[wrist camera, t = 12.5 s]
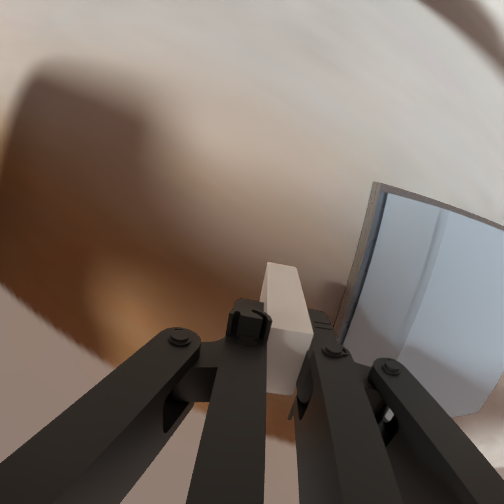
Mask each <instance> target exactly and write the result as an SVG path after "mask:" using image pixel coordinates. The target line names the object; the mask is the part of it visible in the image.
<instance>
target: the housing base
mask: <svg viewBox="0 0 504 504" xmlns="http://www.w3.org/2000/svg"><path fill="white" fill-rule="evenodd" d="M388 193H390V194H394V195H398V196H401V197H405V198H409V199H412V200H416V201H419V202H423V203H426V204H430V205H433V206H436V207H440V208H443V209H446V210H449V211H452V212H455V213H458V214H461V215H463V216H466V217H469V218H471V219H474V220H477V221H479V222H482V223H485V224H487V225H490V226H492V227H495V228H497V229H500V230H502V231H504V226H502V225H500V224H497V223H495V222H492V221H490V220H487V219H485V218H482V217H480V216H477V215H475V214H472V213H470V212H467V211H464V210H462V209H459V208H456V207H454V206H451V205H448V204H445V203H442V202H440V201H437V200H434V199H431V198H428V197H425V196H422V195H419V194H416V193H412V192H409V191H406V190H403V189H400V188H396V187H393V186H389V185H386V184H383V183H378V182H373V184H372V189H371V194H370V198H369V203H368V207H367V212H366V216H365V220H364V224H363V228H362V232H361V236H360V240H359V244H358V248H357V251H356V255H355V259H354V262H353V266H352V269H351V273H350V276H349V280H348V283H347V286H346V290H345V293H344V296H343V299H342V302H341V306H340V309H339V312H338V315H337V318H336V321H335V324H334V327H333V332H334V334H335V337H336V340H337V343H338V344H340V345H342V346H343V343H344V341H345V338H346V335H347V333H348V330H349V327H350V324H351V322H352V319H353V316H354V313H355V310H356V307H357V304H358V301H359V298H360V295H361V292H362V289H363V286H364V283H365V279H366V276H367V273H368V269H369V266H370V263H371V259H372V256H373V252H374V248H375V245H376V241H377V237H378V234H379V230H380V226H381V222H382V218H383V213H384V209H385V205H386V200H387V196H388Z"/></svg>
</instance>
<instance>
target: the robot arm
mask: <svg viewBox="0 0 504 504" xmlns="http://www.w3.org/2000/svg"><path fill="white" fill-rule="evenodd" d="M295 387H297V395H296V398H295V401H294V403H293V406H292V408H291V411H290V413H289V416H288V420H291V418H292V416H293V414H294V421H295V435H296V449H297V464H298V465H297V466H298V483H299V503H300V504H504V480H503V479H502V478H501V476H500V475H499V474H498V473H497V472H496V470H495V469H494V468H493V466H492V465H491V464H490V463H489V462H488V460H487V459H486V458H485V457H484V456H483V454H482V453H481V452H480V451H479V450H478V449H477V447H476V446H475V445H474V444H473V443H472V441H471V440H470V439H469V438H468V437H467V436H466V434H465V433H464V432H463V431H462V430H461V429H460V427H459V426H458V425H457V424H456V423H455V422H454V421H453V419H452V418H451V417H450V416H449V415H448V414H447V413H446V411H445V410H444V409H443V408H442V407H441V406H440V405H439V404H438V402H437V401H436V400H435V399H434V398H433V397H432V396H431V395H430V394H429V392H428V391H427V390H426V389H425V388H424V387H423V386H422V385H421V384H420V382H419V381H418V380H417V379H416V378H415V377H414V376H413V375H412V374H411V373H410V371H409V370H408V369H407V368H406V367H405V366H404V365H402V364H401V363H400V362H398V361H396V360H395V359H391V358H378V359H376V360H375V361H374V362H373V365H372V367H369V366H366V365H362V364H359V363H356V362H354V360H353V358H352V355H351V353H350V352H349V350H348V349H346V348H345V347H344V346H342V345H340V344H338V343H337V340H336V337H335V334H334V332H333V330H332V326H331V323H330V321H329V318H328V317H327V316H326V315H325V314H324V313H323V312H322V311H317V310H311V309H307V306H306V302H305V298H304V294H303V291H302V287H301V283H300V279H299V276H298V272H297V268H296V267H293V266H287V265H282V264H277V263H271V262H267V267H266V272H265V276H264V281H263V286H262V291H261V295H260V300H259V301H254V300H248V299H243V298H240V299H239V300H237V301H236V302H235V303H234V307H233V309H232V310H231V312H230V313H229V318H228V324H227V330H226V336H225V337H224V338H223V339H221V340H219V341H214V342H201V339H200V337H199V336H198V335H197V334H196V333H195V332H193V331H191V330H188V329H184V328H178V327H173V328H168V329H165V330H163V331H161V332H160V333H159V334H157V335H156V336H155V337H154V338H152V339H151V340H150V341H149V342H148V343H146V344H145V345H144V346H143V347H142V348H140V349H139V350H138V351H137V352H135V353H134V354H133V355H132V356H131V357H129V358H128V359H127V360H126V361H125V362H123V363H122V364H121V365H120V366H118V367H117V368H116V369H115V370H114V371H112V372H111V373H110V374H109V375H108V376H106V377H105V378H104V379H103V380H102V381H100V382H99V383H98V384H97V385H95V386H94V387H93V388H92V389H91V390H89V391H88V392H87V393H86V394H84V395H83V396H82V397H81V398H80V399H78V400H77V401H76V402H75V403H74V404H72V405H71V406H70V407H69V408H67V409H66V410H65V411H64V412H62V414H60V415H59V416H58V417H56V418H55V419H54V420H53V421H51V422H50V423H49V424H48V425H47V426H45V427H44V428H43V429H42V430H40V431H39V432H38V433H37V434H36V435H34V436H33V437H32V438H31V439H30V440H28V441H27V442H26V443H25V444H23V445H22V446H21V447H20V448H18V449H17V450H16V451H15V452H14V453H13V454H11V455H10V456H9V457H7V458H6V459H5V460H4V461H2V462H1V463H0V504H120V502H121V501H122V500H123V499H124V497H125V496H126V495H127V494H128V492H129V491H130V490H131V489H132V487H133V486H134V485H135V483H136V482H137V481H138V480H139V478H140V477H141V476H142V474H143V473H144V472H145V471H146V469H147V468H148V467H149V465H150V464H151V463H152V461H153V460H154V459H155V457H156V456H157V455H158V454H159V452H160V451H161V450H162V448H163V447H164V446H165V444H166V443H167V441H168V440H169V439H170V437H171V436H172V435H173V433H174V432H175V431H176V429H177V428H178V426H179V425H180V424H181V422H182V421H183V420H184V418H185V417H186V415H187V414H188V413H189V411H190V410H191V409H192V407H193V405H194V402H209V407H208V411H207V415H206V419H205V423H204V428H203V432H202V436H201V440H200V445H199V449H198V453H197V457H196V462H195V466H194V470H193V474H192V479H191V483H190V487H189V491H188V496H187V500H186V504H263V503H264V474H265V473H264V472H265V436H266V393H273V394H281V395H289V396H292V395H293V393H294V390H295ZM389 409H391V411H392V412H393V414H394V415H393V417H392V418H391V420H390V421H388V420H387V419H386V417H385V415H386V414H387V412H388V410H389Z"/></svg>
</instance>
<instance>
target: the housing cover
mask: <svg viewBox="0 0 504 504" xmlns="http://www.w3.org/2000/svg"><path fill="white" fill-rule="evenodd" d="M343 346H344V347H345V348H346V349H348V350H349V352H350V353H351V355H352V358H353V360H354V362H356V363H359V364H362V365H366V366H369V367H372V365H373V362H374V361H375V360H376V359H378V358H391V359H395V360H396V361H398V362H400V363H401V364H402V365H404V366H405V367H406V368H407V369H408V370H409V371H410V373H411V374H412V375H413V376H414V377H415V378H416V379H417V380H418V381H419V382H420V384H421V385H422V386H423V387H424V388H425V389H426V390H427V391H428V392H429V394H430V395H431V396H432V397H433V398H434V399H435V400H436V401H437V402H438V404H439V405H440V406H441V407H442V408H443V409H444V410H445V411H446V413H447V414H448V415H449V416H450V417H457V416H463V415H469V414H474V413H478V411H479V410H480V408H481V407H482V406H483V404H484V403H485V401H486V400H487V398H488V397H489V395H490V393H491V392H492V390H493V389H494V387H495V386H496V384H497V382H498V381H499V379H500V377H501V376H502V374H503V372H504V231H502V230H500V229H497V228H495V227H492V226H490V225H487V224H485V223H482V222H479V221H477V220H474V219H471V218H469V217H466V216H463V215H461V214H458V213H455V212H452V211H449V210H446V209H443V208H440V207H436V206H433V205H430V204H426V203H423V202H419V201H416V200H412V199H409V198H405V197H401V196H398V195H394V194H390V193H388V196H387V200H386V205H385V209H384V213H383V218H382V222H381V226H380V230H379V234H378V237H377V241H376V245H375V248H374V252H373V256H372V259H371V263H370V266H369V269H368V273H367V276H366V279H365V283H364V286H363V289H362V292H361V295H360V298H359V301H358V304H357V307H356V310H355V313H354V316H353V319H352V322H351V324H350V327H349V330H348V333H347V335H346V338H345V341H344V343H343ZM393 415H394V414H393V412H392V411H391V409H389V410H388V412H387V414H386V415H385V417H386V419H387V420H388V421H390V420H391V418H392V417H393Z"/></svg>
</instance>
